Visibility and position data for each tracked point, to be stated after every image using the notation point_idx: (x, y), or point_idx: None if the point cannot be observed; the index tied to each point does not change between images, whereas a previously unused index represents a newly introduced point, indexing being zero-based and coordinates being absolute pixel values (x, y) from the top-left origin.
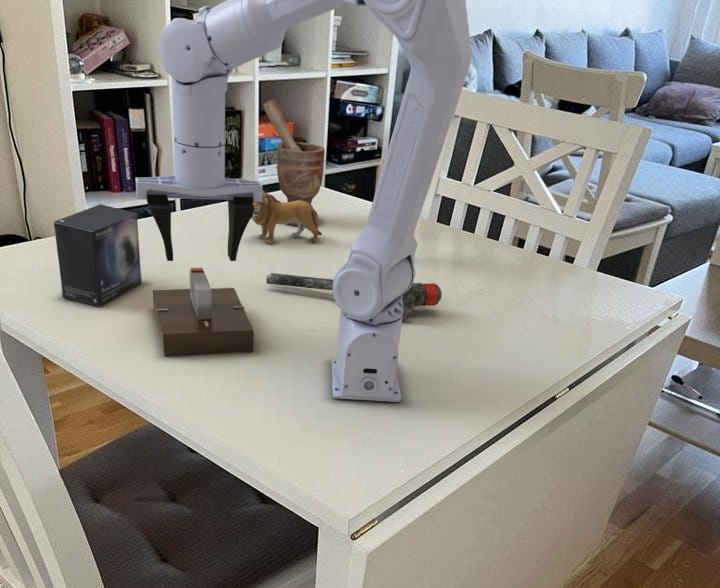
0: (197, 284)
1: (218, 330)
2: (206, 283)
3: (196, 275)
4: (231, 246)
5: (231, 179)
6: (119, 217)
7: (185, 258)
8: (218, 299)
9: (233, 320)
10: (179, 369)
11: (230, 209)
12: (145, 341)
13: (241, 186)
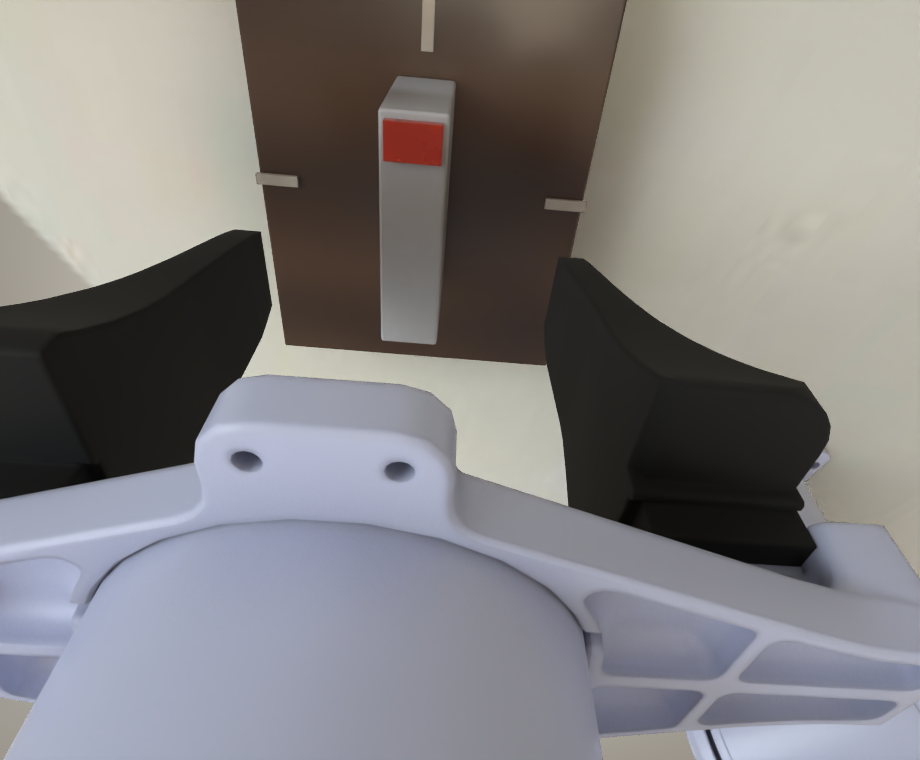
0: (390, 299)
1: (445, 351)
2: (428, 292)
3: (401, 203)
4: (554, 376)
5: (717, 613)
6: None
7: None
8: (513, 104)
9: (509, 299)
10: (338, 369)
11: (608, 452)
12: (246, 206)
13: (681, 731)
